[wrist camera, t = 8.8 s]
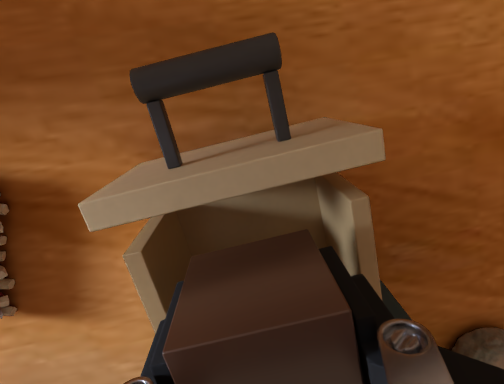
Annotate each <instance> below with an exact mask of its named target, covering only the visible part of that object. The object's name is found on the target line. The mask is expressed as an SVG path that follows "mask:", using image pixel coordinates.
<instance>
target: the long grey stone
mask: <svg viewBox="0 0 504 384" xmlns="http://www.w3.org/2000/svg"><path fill="white" fill-rule="evenodd" d="M452 351H453V352H456V353H459V354H462V355H465V356H468V357H470V358H473V359H476V360H479V361H482V362H485V363H488V364H490V365H493V366H496V367H499V368H502V369H504V330H503V329H500V328H496V327H493V328H481V329H475V330H474V331H472V332H470V333H465V334H464V335H462V337H460V338H459V339H458V340H457V342H456V345H455V347H453V348H452Z"/></svg>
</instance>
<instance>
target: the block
mask: <svg viewBox="0 0 504 384" xmlns="http://www.w3.org/2000/svg"><path fill="white" fill-rule="evenodd" d="M162 355H163V357H164V360H165V362H166V364H167V367H168V369H169V371H170V374H171V376H172V378H173V381H174V383H175V384H364V382H363V376H362V370H361V364H360V358H359V352H358V346H357V340H356V334H355V329H354V323H353V317H352V311H351V309H350V307H349V305H348V303H347V301H346V299H345V297H344V296H343V294H342V292H341V290H340V288H339V286H338V284H337V282H336V281H335V279H334V277H333V275H332V273H331V271H330V269H329V268H328V266H327V264H326V262H325V260H324V258H323V256H322V254H321V253H320V251H319V249H318V247H317V245H316V243H315V241H314V240H313V238H312V236H311V234H310V232H309V230H308V229H305V230H301V231H296V232H292V233H288V234H284V235H280V236H275V237H271V238H267V239H263V240H259V241H254V242H250V243H246V244H242V245H238V246H233V247H229V248H225V249H221V250H217V251H212V252H208V253H204V254H200V255H196V256H192V257H191V259H190V263H189V266H188V269H187V273H186V276H185V279H184V282H183V286H182V289H181V292H180V296H179V299H178V302H177V306H176V309H175V312H174V315H173V319H172V322H171V325H170V329H169V332H168V335H167V339H166V342H165V345H164V349H163V352H162Z"/></svg>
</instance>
